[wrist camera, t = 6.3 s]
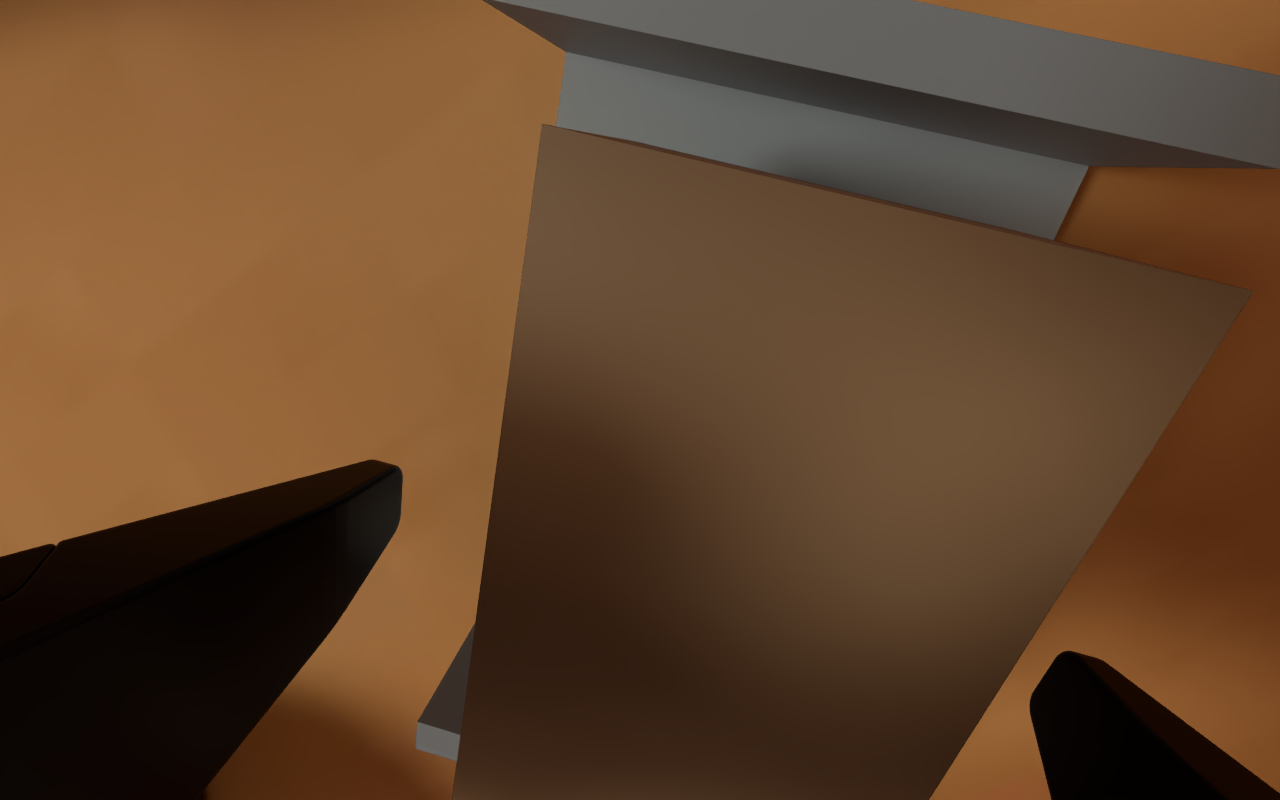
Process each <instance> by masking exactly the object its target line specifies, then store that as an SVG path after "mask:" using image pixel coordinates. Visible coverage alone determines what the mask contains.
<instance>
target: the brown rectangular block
mask: <svg viewBox="0 0 1280 800" xmlns="http://www.w3.org/2000/svg"><path fill="white" fill-rule="evenodd" d="M1252 293H1253V291H1251V290H1247V289H1243V288H1239V287H1235V286H1231V285H1227V284H1223V283H1220V282H1216V281H1212V280H1208V279H1204V278H1200V277H1196V276H1192V275H1188V274H1184V273H1180V272H1176V271H1172V270H1168V269H1164V268H1160V267H1157V266H1153V265H1149V264H1145V263H1141V262H1137V261H1133V260H1129V259H1125V258H1121V257H1117V256H1113V255H1109V254H1105V253H1101V252H1097V251H1094V250H1090V249H1086V248H1082V247H1078V246H1074V245H1070V244H1066V243H1062V242H1058V241H1054V240H1050V239H1046V238H1042V237H1038V236H1034V235H1031V234H1027V233H1023V232H1019V231H1015V230H1011V229H1007V228H1002V227H998V226H994V225H990V224H985V223H981V222H977V221H973V220H968V219H964V218H960V217H956V216H951V215H947V214H943V213H938V212H934V211H930V210H926V209H921V208H917V207H913V206H909V205H904V204H900V203H896V202H892V201H887V200H883V199H879V198H875V197H870V196H866V195H862V194H857V193H853V192H849V191H845V190H840V189H836V188H832V187H828V186H823V185H819V184H815V183H811V182H806V181H802V180H798V179H794V178H789V177H785V176H781V175H776V174H772V173H768V172H764V171H759V170H755V169H751V168H747V167H742V166H738V165H734V164H730V163H725V162H721V161H717V160H713V159H708V158H704V157H700V156H695V155H691V154H687V153H683V152H678V151H674V150H670V149H666V148H661V147H657V146H653V145H649V144H644V143H640V142H636V141H631V140H625V139H620V138H615V137H609V136H604V135H599V134H593V133H588V132H583V131H577V130H572V129H567V128H561V127H556V126H551V125H545V124H542V130H541V137H540V144H539V152H538V159H537V167H536V174H535V182H534V189H533V197H532V204H531V212H530V219H529V227H528V234H527V242H526V249H525V256H524V264H523V271H522V279H521V286H520V294H519V301H518V309H517V316H516V324H515V331H514V339H513V346H512V353H511V361H510V368H509V376H508V383H507V391H506V398H505V406H504V413H503V421H502V428H501V436H500V443H499V451H498V458H497V465H496V473H495V480H494V488H493V495H492V503H491V510H490V518H489V525H488V533H487V540H486V548H485V555H484V563H483V570H482V577H481V585H480V592H479V600H478V607H477V615H476V622H475V630H474V637H473V645H472V652H471V660H470V667H469V674H468V682H467V689H466V697H465V704H464V712H463V719H462V727H461V734H460V742H459V749H458V757H457V764H456V772H455V779H454V786H453V794H452V800H929V799H930V797H931V796H932V794H933V793H934V791H935V790H936V788H937V786H938V785H939V783H940V782H941V780H942V779H943V777H944V776H945V774H946V772H947V771H948V769H949V768H950V766H951V765H952V763H953V761H954V760H955V758H956V757H957V755H958V754H959V752H960V750H961V749H962V747H963V746H964V744H965V743H966V741H967V739H968V738H969V736H970V735H971V733H972V732H973V730H974V728H975V727H976V725H977V724H978V722H979V721H980V719H981V718H982V716H983V714H984V713H985V711H986V710H987V708H988V707H989V705H990V703H991V702H992V700H993V699H994V697H995V696H996V694H997V692H998V691H999V689H1000V688H1001V686H1002V685H1003V683H1004V681H1005V680H1006V678H1007V677H1008V675H1009V674H1010V672H1011V670H1012V669H1013V667H1014V666H1015V664H1016V663H1017V661H1018V660H1019V658H1020V656H1021V655H1022V653H1023V652H1024V650H1025V649H1026V647H1027V645H1028V644H1029V642H1030V641H1031V639H1032V638H1033V636H1034V634H1035V633H1036V631H1037V630H1038V628H1039V627H1040V625H1041V623H1042V622H1043V620H1044V619H1045V617H1046V616H1047V614H1048V612H1049V611H1050V609H1051V608H1052V606H1053V605H1054V603H1055V601H1056V600H1057V598H1058V597H1059V595H1060V594H1061V592H1062V591H1063V589H1064V587H1065V586H1066V584H1067V583H1068V581H1069V580H1070V578H1071V576H1072V575H1073V573H1074V572H1075V570H1076V569H1077V567H1078V565H1079V564H1080V562H1081V561H1082V559H1083V558H1084V556H1085V554H1086V553H1087V551H1088V550H1089V548H1090V547H1091V545H1092V543H1093V542H1094V540H1095V539H1096V537H1097V536H1098V534H1099V533H1100V531H1101V529H1102V528H1103V526H1104V525H1105V523H1106V522H1107V520H1108V518H1109V517H1110V515H1111V514H1112V512H1113V511H1114V509H1115V507H1116V506H1117V504H1118V503H1119V501H1120V500H1121V498H1122V496H1123V495H1124V493H1125V492H1126V490H1127V489H1128V487H1129V485H1130V484H1131V482H1132V481H1133V479H1134V478H1135V476H1136V475H1137V473H1138V471H1139V470H1140V468H1141V467H1142V465H1143V464H1144V462H1145V460H1146V459H1147V457H1148V456H1149V454H1150V453H1151V451H1152V449H1153V448H1154V446H1155V445H1156V443H1157V442H1158V440H1159V438H1160V437H1161V435H1162V434H1163V432H1164V431H1165V429H1166V427H1167V426H1168V424H1169V423H1170V421H1171V420H1172V418H1173V417H1174V415H1175V413H1176V412H1177V410H1178V409H1179V407H1180V406H1181V404H1182V402H1183V401H1184V399H1185V398H1186V396H1187V395H1188V393H1189V391H1190V390H1191V388H1192V387H1193V385H1194V384H1195V382H1196V380H1197V379H1198V377H1199V376H1200V374H1201V373H1202V371H1203V369H1204V368H1205V366H1206V365H1207V363H1208V362H1209V360H1210V358H1211V357H1212V355H1213V354H1214V352H1215V351H1216V349H1217V348H1218V346H1219V344H1220V343H1221V341H1222V340H1223V338H1224V337H1225V335H1226V333H1227V332H1228V330H1229V329H1230V327H1231V326H1232V324H1233V322H1234V321H1235V319H1236V318H1237V316H1238V315H1239V313H1240V311H1241V310H1242V308H1243V307H1244V305H1245V304H1246V302H1247V300H1248V299H1249V297H1250V296H1251V294H1252Z"/></svg>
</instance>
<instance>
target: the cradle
mask: <svg viewBox="0 0 1280 800" xmlns="http://www.w3.org/2000/svg"><path fill="white" fill-rule="evenodd" d="M483 1H485V2H486V3H488V4H490V5H491V6H493V7H494V8H496V9H498V10H499V11H501V12H503V13H504V14H506V15H507V16H509V17H511V18H512V19H514V20H515V21H517V22H519V23H520V24H522V25H524V26H525V27H527V28H528V29H530V30H532V31H533V32H535V33H537V34H538V35H540V36H541V37H543V38H545V39H546V40H548V41H549V42H551V43H553V44H554V45H556V46H558V47H559V48H561V49H562V50H564V51H566V57H565V65H564V72H563V79H562V86H561V94H560V101H559V108H558V116H557V123H556V127H561V128H567V129H572V130H577V131H583V132H588V133H593V134H599V135H604V136H609V137H615V138H620V139H625V140H631V141H636V142H640V143H644V144H649V145H653V146H657V147H661V148H666V149H670V150H674V151H678V152H683V153H687V154H691V155H695V156H700V157H704V158H708V159H713V160H717V161H721V162H725V163H730V164H734V165H738V166H742V167H747V168H751V169H755V170H759V171H764V172H768V173H772V174H776V175H781V176H785V177H789V178H794V179H798V180H802V181H806V182H811V183H815V184H819V185H823V186H828V187H832V188H836V189H840V190H845V191H849V192H853V193H857V194H862V195H866V196H870V197H875V198H879V199H883V200H887V201H892V202H896V203H900V204H904V205H909V206H913V207H917V208H921V209H926V210H930V211H934V212H938V213H943V214H947V215H951V216H956V217H960V218H964V219H968V220H973V221H977V222H981V223H985V224H990V225H994V226H998V227H1002V228H1007V229H1011V230H1015V231H1019V232H1023V233H1027V234H1031V235H1034V236H1038V237H1042V238H1046V239H1050V240H1054V239H1055V237H1056V234H1057V232H1058V230H1059V228H1060V226H1061V224H1062V222H1063V220H1064V218H1065V216H1066V214H1067V211H1068V209H1069V207H1070V205H1071V203H1072V201H1073V199H1074V197H1075V195H1076V193H1077V190H1078V188H1079V186H1080V184H1081V182H1082V180H1083V178H1084V176H1085V174H1086V172H1087V170H1088V167H1089V166H1104V167H1180V168H1257V169H1279V168H1280V76H1279V75H1274V74H1269V73H1265V72H1260V71H1255V70H1250V69H1245V68H1240V67H1235V66H1230V65H1225V64H1220V63H1216V62H1211V61H1206V60H1201V59H1196V58H1191V57H1186V56H1181V55H1176V54H1171V53H1167V52H1162V51H1157V50H1152V49H1147V48H1142V47H1137V46H1132V45H1127V44H1122V43H1118V42H1113V41H1108V40H1103V39H1098V38H1093V37H1088V36H1083V35H1078V34H1073V33H1069V32H1064V31H1059V30H1054V29H1049V28H1044V27H1039V26H1034V25H1029V24H1024V23H1020V22H1015V21H1010V20H1005V19H1000V18H995V17H990V16H985V15H980V14H975V13H971V12H966V11H961V10H956V9H951V8H946V7H941V6H936V5H931V4H926V3H922V2H917V1H912V0H483ZM474 630H475V624H474V626H473V627H472V629H471V631H470V633H469V634H468V636H467V638H466V639H465V641H464V643H463V645H462V646H461V648H460V650H459V651H458V653H457V655H456V657H455V658H454V660H453V662H452V663H451V665H450V667H449V669H448V670H447V672H446V674H445V675H444V677H443V679H442V681H441V682H440V684H439V686H438V687H437V689H436V691H435V693H434V694H433V696H432V698H431V699H430V701H429V703H428V705H427V706H426V708H425V710H424V711H423V713H422V715H421V717H420V718H419V720H418V722H417V733H416V745H415V749H418V750H421V751H425V752H428V753H431V754H434V755H438V756H441V757H444V758H447V759H450V760H454V761H457V757H458V749H459V742H460V734H461V727H462V719H463V712H464V704H465V697H466V689H467V682H468V674H469V667H470V660H471V652H472V645H473V637H474Z"/></svg>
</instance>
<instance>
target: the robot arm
mask: <svg viewBox="0 0 1280 800" xmlns="http://www.w3.org/2000/svg"><path fill="white" fill-rule="evenodd" d="M402 482H403V475H402V471H401V469H400V468H399V467H398V466H396V465H392V464H389V463H385V462H381V461H378V460H367V461H363V462H359V463H355V464H352V465H348V466H344V467H340V468H336V469H333V470H329V471H325V472H321V473H317V474H314V475H310V476H306V477H302V478H298V479H295V480H291V481H287V482H283V483H279V484H276V485H272V486H268V487H264V488H260V489H257V490H253V491H249V492H245V493H241V494H238V495H234V496H230V497H226V498H222V499H219V500H215V501H211V502H207V503H203V504H200V505H196V506H192V507H188V508H184V509H181V510H177V511H173V512H169V513H165V514H162V515H158V516H154V517H150V518H146V519H143V520H139V521H135V522H131V523H127V524H124V525H120V526H116V527H112V528H108V529H105V530H101V531H97V532H93V533H89V534H86V535H82V536H78V537H74V538H70V539H67V540H63V541H61V542H59V543H58V544H57V546H55V545H54V544H47V545H43V546H39V547H36V548H32V549H28V550H24V551H21V552H17V553H13V554H9V555H6V556H2V557H0V800H203V793H202V792H203V791H204V789H205V788H206V787H207V786H208V784H209V783H210V782H211V781H212V779H213V778H214V777H215V776H216V774H217V773H218V772H219V771H220V769H221V768H222V767H223V766H224V764H225V763H226V762H227V761H228V759H229V758H230V757H231V756H232V754H233V753H234V752H235V751H236V749H237V748H238V747H239V746H240V744H241V743H242V742H243V741H244V739H245V738H246V737H247V736H248V734H249V733H250V732H251V731H252V729H253V728H254V727H255V726H256V724H257V723H258V722H259V721H260V719H261V718H262V717H263V716H264V714H265V713H266V712H267V711H268V709H269V708H270V707H271V706H272V704H273V703H274V702H275V701H276V699H277V698H278V697H279V696H280V694H281V693H282V692H283V691H284V689H285V688H286V687H287V686H288V684H289V683H290V682H291V681H292V679H293V678H294V677H295V676H296V674H297V673H298V672H299V671H300V669H301V668H302V667H303V666H304V664H305V663H306V662H307V661H308V659H309V658H310V657H311V656H312V654H313V653H314V652H315V651H316V649H317V648H318V647H319V646H320V644H321V643H322V642H323V641H324V639H325V638H326V637H327V635H328V634H329V633H330V631H331V630H332V629H333V627H334V626H335V625H336V623H337V622H338V620H339V619H340V617H341V616H342V614H343V613H344V612H345V610H346V609H347V607H348V605H349V604H350V602H351V601H352V599H353V598H354V596H355V594H356V593H357V591H358V590H359V588H360V587H361V585H362V584H363V582H364V580H365V579H366V577H367V576H368V574H369V573H370V571H371V569H372V568H373V566H374V565H375V563H376V562H377V560H378V558H379V557H380V555H381V554H382V552H383V551H384V549H385V548H386V546H387V544H388V543H389V541H390V540H391V538H392V537H393V535H394V533H395V532H396V529H397V527H398V524H399V521H400V516H401V500H402ZM1030 715H1031V719H1032V723H1033V727H1034V731H1035V735H1036V739H1037V743H1038V747H1039V751H1040V755H1041V759H1042V763H1043V767H1044V771H1045V775H1046V779H1047V784H1048V788H1049V792H1050V796H1051V800H1280V793H1278V792H1277V791H1276V790H1274V789H1273V788H1272V787H1270V786H1269V785H1268V784H1267V783H1265V782H1264V781H1263V780H1261V779H1260V778H1259V777H1257V776H1256V775H1255V774H1253V773H1252V772H1251V771H1249V770H1248V769H1247V768H1245V767H1244V766H1243V765H1241V764H1240V763H1239V762H1237V761H1236V760H1235V759H1233V758H1232V757H1231V756H1229V755H1228V754H1227V753H1225V752H1224V751H1223V750H1221V749H1220V748H1219V747H1217V746H1216V745H1215V744H1213V743H1212V742H1211V741H1209V740H1208V739H1207V738H1205V737H1204V736H1203V735H1201V734H1200V733H1199V732H1197V731H1196V730H1195V729H1194V728H1192V727H1191V726H1190V725H1188V724H1187V723H1186V722H1184V721H1183V720H1182V719H1180V718H1179V717H1178V716H1176V715H1175V714H1174V713H1172V712H1171V711H1170V710H1168V709H1167V708H1166V707H1164V706H1163V705H1162V704H1160V703H1159V702H1158V701H1156V700H1155V699H1154V698H1152V697H1151V696H1150V695H1148V694H1147V693H1146V692H1144V691H1143V690H1142V689H1140V688H1139V687H1138V686H1136V685H1135V684H1134V683H1132V682H1131V681H1130V680H1128V679H1127V678H1126V677H1124V676H1123V675H1122V674H1121V673H1119V672H1118V671H1117V670H1115V669H1114V668H1113V667H1111V666H1110V665H1109V664H1107V663H1106V662H1104V661H1103V660H1100V659H1098V658H1095V657H1091V656H1088V655H1084V654H1080V653H1077V652H1073V651H1064V652H1062V653H1060V654H1059V655H1058V656H1057V657H1056V658H1055V660H1054V661H1053V663H1052V664H1051V666H1050V667H1049V669H1048V670H1047V672H1046V673H1045V675H1044V676H1043V678H1042V679H1041V681H1040V682H1039V684H1038V685H1037V687H1036V688H1035V690H1034V691H1033V693H1032V696H1031V699H1030Z"/></svg>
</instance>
